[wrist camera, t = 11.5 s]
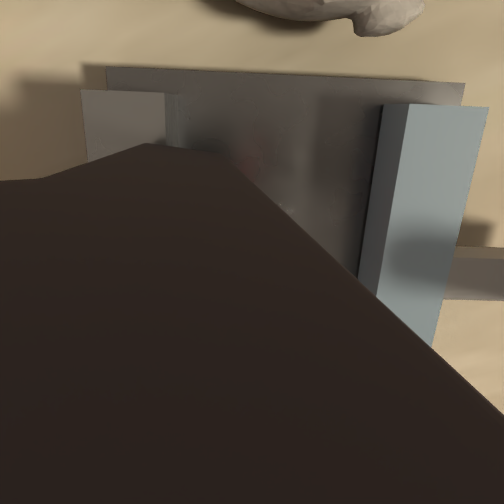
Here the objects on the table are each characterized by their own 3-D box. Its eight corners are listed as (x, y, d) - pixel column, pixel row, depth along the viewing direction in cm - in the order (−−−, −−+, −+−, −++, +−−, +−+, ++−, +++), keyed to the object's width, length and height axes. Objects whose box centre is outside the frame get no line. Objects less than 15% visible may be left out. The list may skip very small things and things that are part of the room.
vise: (448, 84, 18) (509, 78, 14) (391, 366, 24) (423, 422, 20) (116, 69, 18) (76, 57, 13) (138, 360, 23) (115, 416, 19)
